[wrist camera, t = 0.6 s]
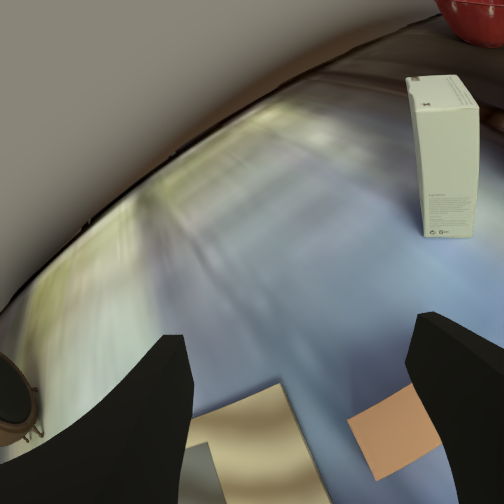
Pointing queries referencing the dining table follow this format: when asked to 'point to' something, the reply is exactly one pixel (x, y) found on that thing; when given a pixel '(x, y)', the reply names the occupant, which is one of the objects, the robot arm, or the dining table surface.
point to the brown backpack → (15, 404)
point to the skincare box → (445, 153)
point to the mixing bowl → (475, 20)
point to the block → (394, 432)
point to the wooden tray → (250, 456)
